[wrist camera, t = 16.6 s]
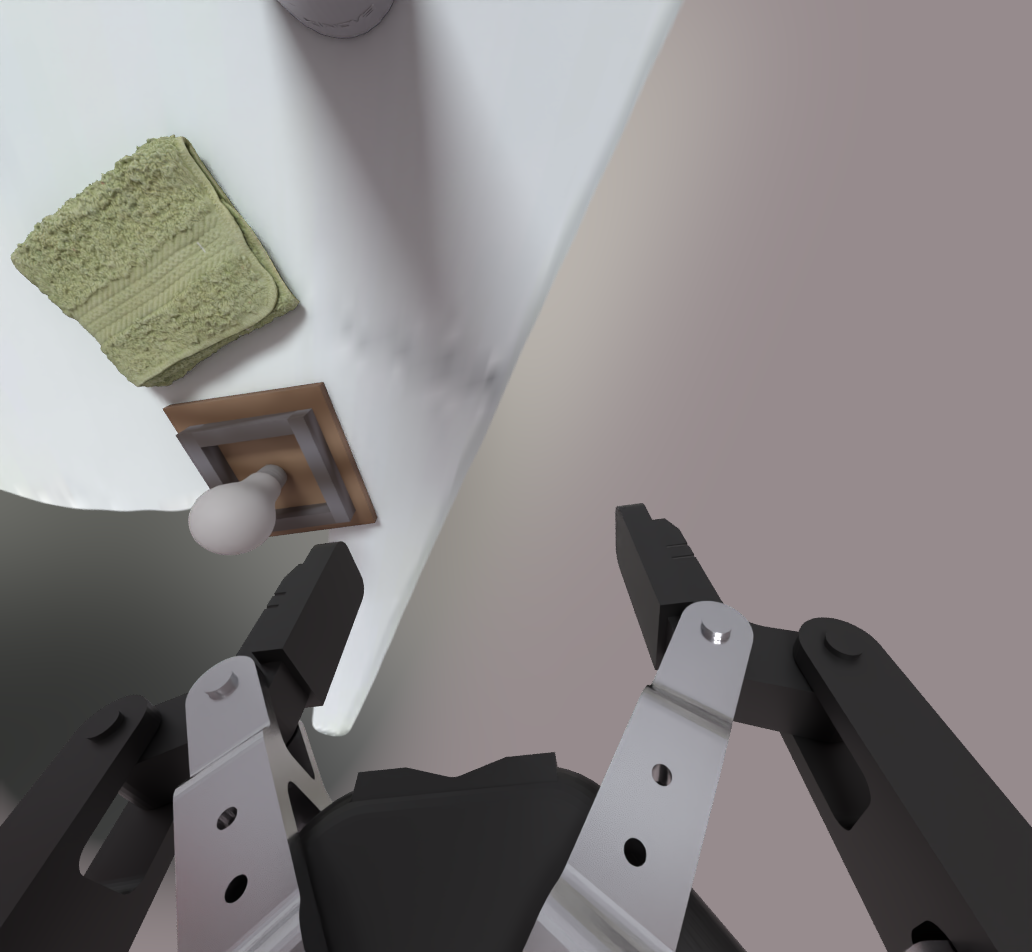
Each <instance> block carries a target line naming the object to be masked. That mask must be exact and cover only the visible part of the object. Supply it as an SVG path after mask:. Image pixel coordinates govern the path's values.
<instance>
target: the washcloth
mask: <svg viewBox="0 0 1032 952" xmlns="http://www.w3.org/2000/svg"><path fill="white" fill-rule="evenodd" d="M101 174H102V173H101ZM34 228H35V229H34V231H32V232H30V234H29V235H28V237H27V239H26V240H25V242H24V243H23V244H20V243H19V244H18V245H17V246H18V248H17V249H15V252H13V253H12V254H11V260H12V262H13V264H14V265H15V267H16V269H17V270H18V271H19V272H20V273H21V274H22V275H24V276H25V277H26V278H27V279H28V280H29V281H30V282H31V283H32V284H34V285H36V286H37V287H38V288H39V290H40V291H41V292H42V293H43V294H46V295H48V298H49V299H50V300H51V302H53V303H54V304H56V305H57V306H58V307H59V308H60V309H61V310H62V311H63V313H64V314H65V315H67V316H68V317H70V318H73V319H75V320H77V321H78V322H79V323H80V324H81V325H82V326H83V327H84V328H85V329H86V330H87V331H88V332H89V333H90V334H91V335H92V336H93V337H95V338H96V340H97V341H98V342H99V344H100V345H101V350H102V352H103V353H104V354H106V355H107V358H108V359H109V360H110V361H111V362H112V363H113V364H114V365H115V366H116V368H117V369H118V371H119V372H120V373H121V374H123V375H124V376H126V378H127V380H128V381H130V382H132V383H133V384H134V385H135V386H137V387H141V386H146V387H152V386H158V387H159V386H169V385H171V384H172V382H173V381H174V380H177V379H179V378H183V377H184V375H185V374H187V371H191V370H192V368H194V366H195V365H196V364H197V363H199V362H200V361H202V360H204V359H205V358H208V357H209V356H211V355H212V353H216V352H217V350H218V349H220V348H221V347H223V346H224V345H226V344H228V343H230V342H231V341H234V340H237V338H239V335H242V336H243V335H244V334H246V333H248V334H249V333H250V332H252V331H253V330H255V329H256V328H258V329H259V328H261V327H263V326H264V325H265V324H268V323H271V322H272V321H273V319H274V318H276V317H280V316H283V315H284V314H286V313H288V311H290V310H293V309H295V308H296V306H297V305H298V304H299V300H297V299H296V298H295V297H294V295H293V294H292V293H291V292H290V290H289V289H288V288H287V286H286V285H285V283H284V282H283V280H282V279H281V277H280V275H279V274H278V272H277V270H276V268H275V267H274V265H273V263H272V261H271V260H270V258H269V256H268V254H267V252H266V251H265V250H264V248H263V246H262V244H261V243H260V241H259V240H258V238H257V237H256V235H255V234H254V232H253V230H252V229H251V227H250V226H249V225H248V224H247V223H246V221H245V220H244V219H243V218H242V216H241V215H240V214H239V213H238V212H237V211H236V210H235V208H234V207H233V205H232V204H231V202H230V201H229V199H228V198H227V196H226V195H225V193H224V192H223V191H222V189H221V188H220V187H219V185H218V184H217V183H216V181H215V180H214V178H213V177H212V176H211V174H210V172H209V171H208V170H207V169H206V167H205V166H204V164H203V163H202V161H201V160H200V158H199V156H198V154H197V153H196V151H195V149H194V148H193V146H192V144H191V143H190V142H189V141H188V140H187V139H186V138H185V137H176V138H175V135H172V136H170V137H160V138H158V139H156V138H152V139H147V143H146V144H144V145H142V146H141V147H138V146H137V150H136V153H134V154H132V156H127V155H126V156H125V157H124V158H122V159H120V160H119V161H117V162H115V169H114V170H111V171H108V172H106V174H102V179H101V181H98V180H97V181H96V182H95V183H92V185H91V184H89V186H88V187H86V188H85V189H84V190H83V192H82V193H80V194H76V198H70V199H69V200H67V201H66V202H65V205H62V208H61V209H60V208H58V211H57V212H56V213H54V215H49V216H46V217H45V218H43V219H42V222H41V223H37V224H36V225H35V226H34Z"/></svg>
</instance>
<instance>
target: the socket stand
mask: <svg viewBox="0 0 1032 952" xmlns="http://www.w3.org/2000/svg"><path fill="white" fill-rule="evenodd" d="M163 410H164V412H165V414H166V415H167V417H168V418H169V420H170V421H171V423H172V425H173V426H174V428H175V429H176V431H177V432H178V434H177V435H176V437H177V438H178V440H179V441H180V443H181V445H182V446H183V448H184V449H185V451H186V452H187V454H188V455H189V457H190V459H191V460H192V462H193V463H194V465H195V466H196V468H197V469H198V471H199V472H200V474H201V476H202V477H203V479H204V480H205V482H206V483H207V485H208V486H209V488H210V489H212V488H214V487H216V486H219V485H224V484H229V483H235V482H240V481H242V480H244V479H246V478H247V477H248V476H250V475H251V474H253V473H257V471H259V470H260V469H261V468H262V467H264V466H265V465H270V464H272V465H277V466H279V467H281V468H282V469H283V470H284V471H285V473H286V475H287V481H286V483H285V484H284V486H283V487H282V489H281V493H280V495H279V497H278V498H277V500H276V502H275V511H276V521H275V525H274V528H273V531H272V533H271V535H270V536H278V535H286V534H293V533H301V532H309V531H316V530H324V529H332V528H340V527H347V526H355V525H362V524H370V523H375V522H376V519H377V515H376V513H375V510H374V508H373V505H372V503H371V500H370V498H369V495H368V493H367V490H366V488H365V485H364V483H363V480H362V478H361V475H360V473H359V470H358V468H357V465H356V463H355V460H354V458H353V455H352V453H351V450H350V448H349V445H348V443H347V440H346V438H345V435H344V433H343V430H342V428H341V425H340V423H339V420H338V418H337V415H336V413H335V410H334V408H333V405H332V403H331V400H330V398H329V395H328V393H327V390H326V388H325V385H324V383H323V382H321V383H314V384H307V385H300V386H294V387H287V388H280V389H273V390H267V391H260V392H253V393H246V394H240V395H233V396H226V397H219V398H213V399H206V400H199V401H192V402H186V403H179V404H172V405H169V406H167V407H165V408H163ZM270 536H269V537H270Z"/></svg>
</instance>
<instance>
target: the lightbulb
mask: <svg viewBox="0 0 1032 952" xmlns="http://www.w3.org/2000/svg"><path fill="white" fill-rule="evenodd" d="M286 481H287V475H286V473H285V471H284V470H283V469H282V468H281V467H279V466H277V465H272V464H270V465H265V466H264V467H262V468H261V469H260V470H259V471H257V473H253V474H251V475H250V476H248V477H247V478H246V479H244V480H242V481H240V482H235V483H229V484H224V485H219V486H216V487H214V488H212V489H210V490H208V491H206V492H205V493H203V494H202V495H201V496H200V497H199V498H198V499H197V500H196V502H195V503H194V505H193V506H192V508H191V511H190V514H189V528H190V531H191V534H192V536H193V538H194V539H195V540H196V542H197V543H198V544H200V545H201V546H202V547H204V548H205V549H207V550H209V551H211V552H214V553H217V554H221V555H237V554H242V553H246V552H249V551H251V550H253V549H255V548H257V547H258V546H260V545H261V544H262V543H264V542H265V541H266V540H267V538H268V537H269V536H270V535H271V533H272V531H273V528H274V525H275V521H276V511H275V502H276V500H277V498H278V497H279V495H280V493H281V489H282V487H283V486H284V484H285V483H286Z"/></svg>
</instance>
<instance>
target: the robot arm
mask: <svg viewBox="0 0 1032 952" xmlns="http://www.w3.org/2000/svg"><path fill="white" fill-rule="evenodd" d="M278 1H279V2H280V3H281V4H282V5H283V6H284V7H285V8H286V9H287V10H288V11H289V12H290V13H291V14H292V15H293V16H294V17H296V18H297V19H298V20H299V21H300V22H302V23H303V24H304V25H305V26H307V27H309V28H311V29H313V30H315V31H316V32H318V33H320V34H323V35H327V36H331V37H335V38H352V37H355V36H358V35H361V34H363V33H366V32H368V31H369V30H370V29H372V28H373V27H374V26H376V25H377V24H378V23H379V22H380V21H381V20H382V18H383V17H384V16H385V15H386V13H387V12H388V11H389V9H390V7H391V5H392V3H393V1H394V0H278ZM615 514H616V554H617V560H618V564H619V567H620V570H621V574H622V576H623V579H624V582H625V585H626V588H627V591H628V593H629V596H630V599H631V602H632V605H633V608H634V611H635V614H636V617H637V619H638V622H639V625H640V628H641V631H642V634H643V636H644V639H645V642H646V645H647V648H648V651H649V654H650V657H651V660H652V662H653V665H654V668H655V670H658V672H657V674H656V676H655V679H654V681H653V683H652V684H651V685H647V686H646V687H645V689H644V690H643V692H642V694H641V696H640V698H639V700H638V702H637V705H636V707H635V709H634V711H633V714H632V716H631V718H630V721H629V723H628V725H627V728H626V730H625V732H624V734H623V737H622V739H621V741H620V743H619V746H618V748H617V750H616V753H615V755H614V757H613V759H612V762H611V764H610V766H609V768H608V771H607V773H606V775H605V778H604V780H603V782H602V785H601V786H600V785H598V784H597V783H595V782H594V781H592V780H591V779H589V778H587V777H585V776H583V775H581V774H579V773H576V772H573V771H570V770H567V769H563V768H559V767H557V762H556V756H555V753H554V752H551V753H542V754H533V755H523V756H513V757H505V758H503V759H500V760H498V761H495V762H493V763H490V764H488V765H485V766H483V767H481V768H478V769H476V770H473V771H471V772H468V773H466V774H463V775H461V776H458V777H447V776H442V775H437V774H433V773H428V772H424V771H419V770H415V769H410V768H397V769H387V770H378V771H368V772H359V773H358V776H357V780H356V784H355V788H354V791H352V792H350V793H348V794H346V795H344V796H343V797H341V798H339V799H337V800H336V801H334V802H332V800H331V799H330V797H329V795H328V794H327V792H326V790H325V787H324V785H323V782H322V779H321V776H320V773H319V770H318V767H317V764H316V761H315V758H314V755H313V752H312V749H311V746H310V743H309V740H308V737H307V734H306V731H305V728H304V725H303V723H302V722H301V720H300V717H301V715H302V713H303V710H304V708H307V707H316V706H323V704H324V701H325V699H326V696H327V693H328V691H329V688H330V685H331V683H332V680H333V677H334V675H335V672H336V669H337V666H338V664H339V661H340V658H341V656H342V653H343V650H344V648H345V645H346V642H347V640H348V637H349V634H350V631H351V629H352V626H353V623H354V621H355V618H356V615H357V613H358V610H359V607H360V605H361V602H362V599H363V594H364V584H363V579H362V577H361V574H360V572H359V570H358V568H357V566H356V564H355V562H354V560H353V557H352V555H351V553H350V551H349V549H348V547H347V545H346V544H345V543H344V542H333V543H325V544H318V545H315V546H314V547H313V548H312V549H311V551H310V553H309V555H308V556H307V558H306V560H305V561H304V563H303V564H299V565H298V566H296V567H295V568H294V569H293V570H292V571H291V572H290V573H289V574H288V575H287V576H286V577H285V578H284V579H283V580H282V582H281V584H280V585H279V587H278V588H277V590H276V592H275V596H273V597H272V598H271V600H270V601H269V603H268V605H267V609H265V610H264V611H263V613H262V614H261V616H260V618H259V619H258V621H257V623H256V624H255V626H254V627H253V629H252V631H251V632H250V634H249V635H248V637H247V639H246V640H245V642H244V644H243V645H242V647H241V649H240V650H239V652H238V653H237V655H236V656H235V657H232V658H228V659H226V660H224V661H222V662H220V663H218V664H216V665H215V666H213V667H212V668H210V669H209V670H208V671H206V672H205V673H204V674H203V675H202V676H201V677H200V678H199V679H198V680H197V681H196V682H195V684H194V685H193V686H192V688H191V689H190V692H188V693H186V694H183V695H181V696H178V697H175V698H173V699H170V700H168V701H165V702H162V703H160V704H158V705H155V706H153V705H152V704H151V703H150V702H149V701H148V700H147V699H145V698H144V697H143V696H141V695H130V696H126V697H123V698H120V699H118V700H116V701H114V702H112V703H110V704H108V705H106V706H105V707H103V708H102V709H100V710H99V711H97V712H96V713H95V714H93V715H92V716H91V717H90V718H89V719H87V720H86V721H85V722H84V723H83V724H82V725H81V726H80V727H79V728H78V730H77V731H76V732H75V733H74V734H73V736H72V737H71V738H70V739H69V741H68V742H67V743H66V745H65V746H64V747H63V748H62V750H61V751H60V752H59V753H58V755H57V756H56V757H55V758H54V760H53V761H52V762H51V763H50V765H49V766H48V767H47V768H46V770H45V771H44V772H43V773H42V775H41V776H40V777H39V779H38V780H37V781H36V782H35V784H34V785H33V786H32V787H31V789H30V790H29V791H28V792H27V794H26V795H25V796H24V798H23V799H22V800H21V801H20V802H19V804H18V805H17V806H16V808H15V809H14V810H13V811H12V813H11V814H10V815H9V817H8V818H7V819H6V820H5V822H4V823H3V824H2V825H1V826H0V952H128V951H129V949H130V947H131V945H132V942H133V940H134V938H135V937H136V934H137V932H138V930H139V928H140V926H141V924H142V922H143V920H144V918H145V915H146V914H147V911H148V909H149V907H150V905H151V903H152V901H153V899H154V897H155V895H156V893H157V890H158V888H159V886H160V884H161V882H162V880H163V878H164V876H165V874H166V872H167V870H168V867H169V865H170V863H171V861H172V859H173V857H174V855H175V879H176V910H177V911H176V912H177V943H178V944H177V945H178V952H746V951H745V949H744V948H743V947H742V946H741V945H740V944H739V942H738V941H737V940H736V939H735V938H734V937H733V935H732V934H731V933H730V932H729V931H728V929H727V928H726V927H725V926H724V925H723V924H722V922H721V921H720V920H719V919H718V918H717V917H716V915H715V914H714V913H713V912H712V911H711V909H710V908H708V906H707V905H706V904H705V902H704V901H703V900H702V899H701V898H700V897H699V895H698V894H697V893H696V892H695V891H694V890H693V888H692V883H693V879H694V875H695V871H696V867H697V863H698V859H699V855H700V851H701V847H702V843H703V839H704V836H705V831H706V828H707V823H708V820H709V815H710V812H711V808H712V804H713V800H714V796H715V792H716V787H717V783H718V780H719V776H720V772H721V767H722V763H723V760H724V756H725V752H726V748H727V744H728V739H729V736H730V732H731V727H732V722H733V721H735V722H740V723H745V724H748V725H753V726H758V727H761V728H766V729H770V730H775V731H779V732H780V733H781V736H782V738H783V739H784V742H785V744H786V745H787V748H788V749H789V752H790V754H791V756H792V758H793V760H794V762H795V764H796V766H797V768H798V770H799V772H800V774H801V776H802V778H803V780H804V782H805V784H806V787H807V788H808V791H809V792H810V795H811V797H812V799H813V801H814V803H815V805H816V807H817V809H818V811H819V813H820V815H821V817H822V819H823V821H824V823H825V825H826V827H827V829H828V831H829V833H830V835H831V837H832V839H833V841H834V844H835V845H836V847H837V850H838V852H839V853H840V856H841V858H842V860H843V862H844V864H845V866H846V868H847V870H848V872H849V874H850V876H851V878H852V880H853V882H854V884H855V886H856V888H857V890H858V892H859V894H860V896H861V898H862V900H863V902H864V904H865V906H866V909H867V911H868V913H869V915H870V917H871V919H872V921H873V923H874V925H875V927H876V929H877V931H878V933H879V935H880V937H881V939H882V941H883V943H884V945H885V947H886V949H887V951H888V952H1032V827H1031V826H1030V825H1029V824H1028V822H1027V821H1026V820H1025V819H1024V818H1023V816H1022V815H1021V814H1020V813H1019V811H1018V810H1017V809H1016V808H1015V807H1014V805H1013V804H1012V803H1011V802H1010V801H1009V799H1008V798H1007V797H1006V796H1005V795H1004V793H1003V792H1002V791H1001V790H1000V789H999V787H998V786H997V785H996V784H995V783H994V781H993V780H992V779H991V778H990V777H989V775H988V774H987V773H986V772H985V771H984V769H983V768H982V767H981V766H980V765H979V763H978V762H977V761H976V760H975V758H974V757H973V756H972V755H971V754H970V752H969V751H968V750H967V749H966V748H965V746H964V745H963V744H962V743H961V742H960V740H959V739H958V738H957V737H956V736H955V734H954V733H953V732H952V731H951V730H950V728H949V727H948V726H947V725H946V724H945V722H944V721H943V720H942V719H941V718H940V716H939V715H938V714H937V713H936V712H935V710H934V709H933V708H932V707H931V706H930V704H929V703H928V702H927V701H926V700H925V698H924V697H923V696H922V695H921V693H920V692H919V691H918V690H917V689H916V687H915V686H914V685H913V684H912V683H911V681H910V680H909V679H908V678H907V677H906V675H905V674H904V673H903V672H902V671H901V669H900V668H899V667H898V666H897V665H896V664H895V662H894V661H893V660H892V659H891V657H890V656H889V655H888V654H887V653H886V651H885V650H884V649H883V648H882V646H881V645H880V644H879V643H878V642H877V641H876V640H875V639H874V638H873V637H872V636H870V635H869V634H868V633H866V632H865V631H863V630H862V629H860V628H858V627H856V626H854V625H852V624H850V623H848V622H845V621H841V620H838V619H834V618H814V619H811V620H809V621H806V622H805V623H804V624H803V625H802V626H801V628H800V630H799V632H796V631H790V630H782V629H777V628H770V627H764V626H760V625H756V624H753V623H750V622H748V621H747V620H746V618H745V617H744V616H743V615H742V614H741V613H739V612H738V611H737V610H735V609H733V608H732V607H730V606H727V605H725V604H723V602H722V601H721V599H720V597H719V596H718V594H717V592H716V591H715V589H714V587H713V586H712V584H711V582H710V581H709V579H708V577H707V576H706V574H705V572H704V571H703V569H702V567H701V565H700V564H699V562H698V561H697V559H696V557H694V553H693V552H692V550H691V548H690V547H689V546H688V545H687V542H686V540H685V538H684V537H683V535H682V533H681V531H680V530H679V529H678V528H677V527H675V526H674V525H672V523H670V522H669V521H667V520H666V519H656V520H652V519H651V517H650V515H649V513H648V511H647V509H646V507H645V505H644V504H643V503H640V504H633V505H624V506H617V507H616V513H615ZM117 794H120V795H121V796H123V797H124V798H125V799H127V800H128V801H129V802H128V804H127V805H126V807H125V808H124V810H123V812H122V813H121V815H120V817H119V818H118V820H117V822H116V823H115V825H114V827H113V828H112V830H111V832H110V834H109V835H108V836H107V838H106V840H105V842H104V843H103V845H102V847H101V848H100V850H99V852H98V853H97V855H96V856H95V858H94V860H93V861H92V863H91V865H90V866H89V868H88V870H87V871H86V873H85V875H84V876H82V875H81V873H80V870H79V859H80V856H81V853H82V850H83V848H84V846H85V844H86V843H87V841H88V839H89V838H90V836H91V835H92V833H93V832H94V830H95V828H96V827H97V825H98V824H99V822H100V820H101V819H102V817H103V815H104V814H105V813H106V811H107V809H108V808H109V806H110V804H111V803H112V801H113V800H114V798H115V797H116V795H117Z"/></svg>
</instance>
